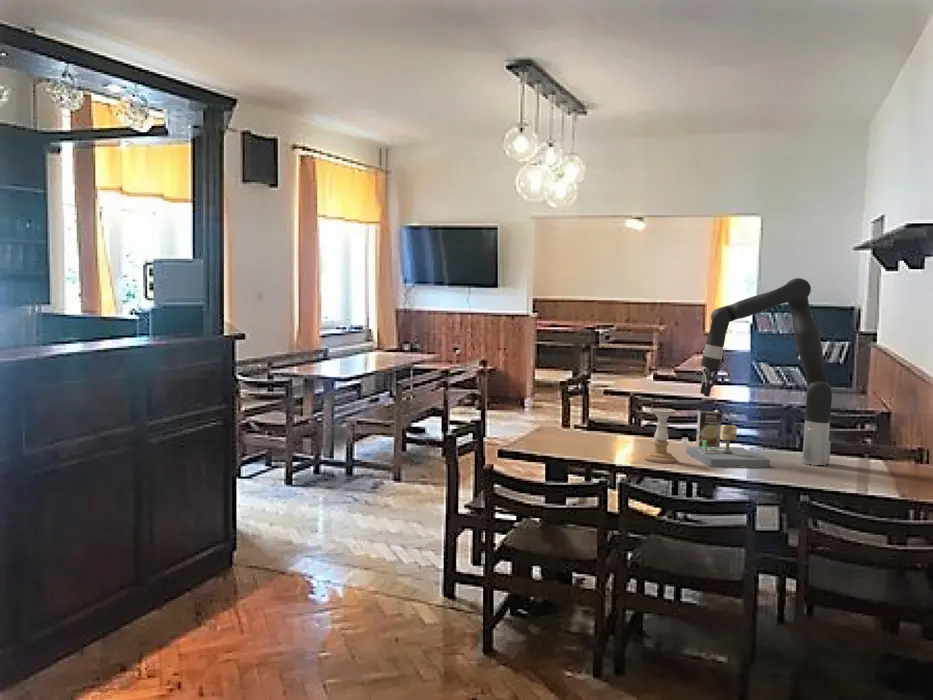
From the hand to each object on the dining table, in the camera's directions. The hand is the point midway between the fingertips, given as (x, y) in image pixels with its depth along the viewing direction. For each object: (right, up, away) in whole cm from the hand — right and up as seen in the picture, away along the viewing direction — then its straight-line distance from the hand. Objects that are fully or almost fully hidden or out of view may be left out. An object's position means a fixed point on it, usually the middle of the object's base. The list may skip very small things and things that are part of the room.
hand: (704, 395), depth 355 cm
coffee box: (+5, -24, +15) cm, 29 cm away
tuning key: (+3, -22, -9) cm, 24 cm away
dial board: (+7, -26, -8) cm, 28 cm away
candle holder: (-21, -25, -12) cm, 35 cm away
